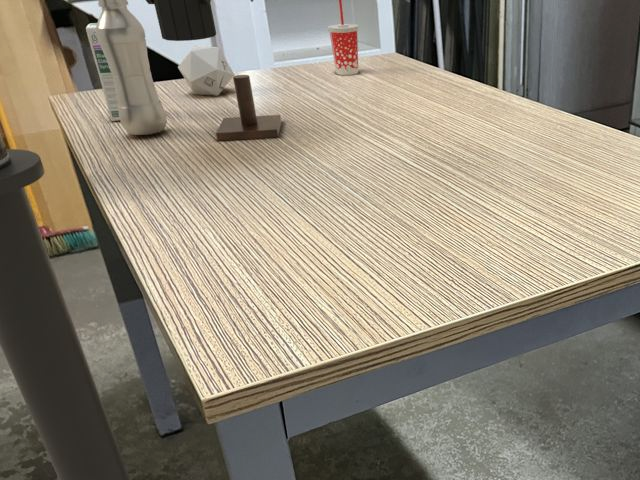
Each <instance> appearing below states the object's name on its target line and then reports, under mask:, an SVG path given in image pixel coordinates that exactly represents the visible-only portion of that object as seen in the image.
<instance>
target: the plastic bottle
mask: <svg viewBox="0 0 640 480" xmlns="http://www.w3.org/2000/svg"><path fill="white" fill-rule="evenodd" d="M97 5H98V7H99V8H101V12H100V15H99V17H98V19H97V22H96V23H97V25H96V36H97V38H98V41H99V42H100V46H101V48H102V50H103V53H104V55H105V57H106V60H107V62H108V65H109V68H110V71H111V72H112V77H113V80H114V84H115V89H116V94H117V99H118V103H119V105H118V111H119V117H120V120H119V122H120V123H121V125H122V128H123V129H124V131H126V132H127V133H128V134H129V135H133V136H134V135H135V136H149V135H153V134H157V133H159V132H162V131H164V130H165V128H166V127H167V114H166V111H165V107H164V106H163V104H162V101H161V100H160V98H159V94H158V92H157V88H156V86H155V83H154V80H153V76H152V72H151V71H152V70H151V67H150V61H149V57H148V46H147V39H146V31H145V28H144V26H143V25H142V23H141V22H140V21H139V20H138V19H137V17H136V16H135V15H134V14H133V13H132V12H131V11H130V10H129V9H128V7H127V6H128V5H129V1H128V0H97Z"/></svg>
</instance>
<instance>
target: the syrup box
mask: <svg viewBox="0 0 640 480" xmlns="http://www.w3.org/2000/svg"><path fill="white" fill-rule="evenodd" d="M96 25H97V22H91V23H88V24H87V26H86V27H85V31H86V35H87V39H88V43H89V46H90V50H91V54H92V57H93V60H94V64H95V66H96V70H97V73H98V77H99V80H100V85H101V87H102V91H103V95H104V98H105V102H106V106H107V110H108V115H109V118H110V120H111V122H119V121H120V117H119V111H118V105H119V103H118V99H117V94H116V89H115V84H114V80H113V77H112V72H111V71H110V68H109V65H108V62H107V60H106V57H105V55H104V53H103V50H102V48H101V46H100V42H99V41H98V38H97V36H96Z"/></svg>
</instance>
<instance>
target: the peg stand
mask: <svg viewBox="0 0 640 480" xmlns="http://www.w3.org/2000/svg"><path fill="white" fill-rule="evenodd" d="M232 80H233V85H234V90H235V91H234V92H235V96H236V102H237V107H238V112H239V116H236V117H223V118H222V121H221V123H220V125H219V127H218V129H217V131H216V140H217V141H218V142H222V141H239V140H240V141H241V140H254V139H255V140H256V139H272V138H279V136H280V132H281V131H280V130H281V126H282V115H281V114H271V115H269V114H267V115H257V111H256V107H255V100H254V95H253V90H252V84H251V83H252V82H251V77H250V75H249V74H238V75H234V76H233V77H232Z"/></svg>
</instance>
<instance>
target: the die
mask: <svg viewBox="0 0 640 480" xmlns="http://www.w3.org/2000/svg"><path fill="white" fill-rule="evenodd" d="M177 68H178V70H179V72H180V74H181V75H182V77H183V78H184V80H185V82H186V83H187V85H188V86H189V88H190V90H191V91H192V93H193V95H200V96H212V97H213V96H215V97H217V96H219V95H220V94H221V93H222V92H223V90H224V89H225V88H226V87H227V85H228V84H229V83H230V81H231V80H233V77H234V76H235V73H234V71H233V70H232V67H231V66H230V65H229V63H228V61H227V59H226V57H225V55H224V54H223V52H222V50H221V48H220V47H219V46H218V47H217V46H199V45H194V46H193V48H192V49H191V50H190V51H189V53H188V54H187V55H186V56H185V58H183V60H182V61H181V63H179V65H178V66H177Z"/></svg>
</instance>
